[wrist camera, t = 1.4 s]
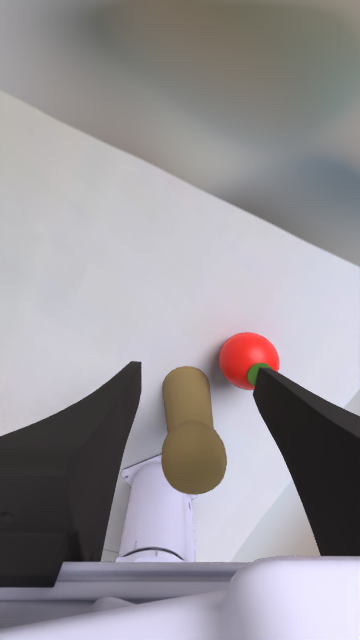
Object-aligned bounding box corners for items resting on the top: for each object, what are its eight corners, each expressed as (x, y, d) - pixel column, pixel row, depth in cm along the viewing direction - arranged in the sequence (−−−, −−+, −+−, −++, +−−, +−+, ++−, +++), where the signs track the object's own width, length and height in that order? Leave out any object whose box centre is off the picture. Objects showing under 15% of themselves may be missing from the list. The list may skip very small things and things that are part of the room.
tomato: (268, 359, 23) (306, 393, 17) (224, 378, 24) (244, 418, 17) (252, 317, 22) (286, 336, 15) (206, 338, 22) (220, 365, 16)
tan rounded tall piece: (178, 357, 23) (183, 431, 12) (218, 380, 24) (254, 467, 13) (153, 394, 24) (137, 491, 13) (192, 414, 25) (206, 520, 14)
